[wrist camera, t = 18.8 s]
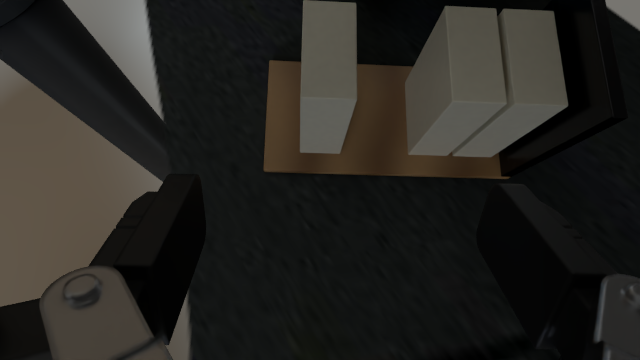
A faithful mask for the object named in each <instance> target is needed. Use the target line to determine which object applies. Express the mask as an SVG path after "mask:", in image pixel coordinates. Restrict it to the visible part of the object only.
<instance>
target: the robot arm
mask: <svg viewBox="0 0 640 360" xmlns="http://www.w3.org/2000/svg"><path fill="white" fill-rule="evenodd" d="M205 235H206V220H205V211H204V203H203V195H202V186H201V180H200V177H199V175H197V174H169V175H168V176H167V177H166V179H165V180H164V182H163V184H162V185H161V187H160V189H159V191H158V192H146V193H145V194H144V195H142V196H141V197H139V198H138V199H136V200H135V201H134V202H132V203H131V205H130V206H129V208H128V209H127V211H126V212H125V214H124V216H123V218H121V220H120V221H119V222H118V224H117V225H116V229H114V230H113V231H112V233H111V234H110V236H109V237H108V238H107V240H106V241H105V243H104V244H103V246H102V247H101V249H100V250H99V252H98V253H97V254H96V256H95V257H94V259H93V260H92V262H91V263H90V265H89V266H88V267H84V268H80V269H77V270H74V271H72V272H69V273H67V274H65V275H63V276H62V277H60V278H59V279H57V280H56V281H55V282H53V283H52V284H51V285H50V286H49V287H48V288H47V289H46V290H45V292H44V293H43V294H42V296H41V298H39V299H35V300H30V301H25V302H21V303H16V304H12V305H7V306H2V307H0V360H173V359H172V357H171V355H170V353H169V351H168V350H167V348H166V346H165V345H169V343H170V340H171V337H172V334H173V331H174V328H175V326H176V323H177V320H178V317H179V314H180V311H181V308H182V306H183V303H184V300H185V297H186V294H187V291H188V288H189V285H190V283H191V280H192V277H193V274H194V271H195V268H196V265H197V262H198V260H199V257H200V254H201V251H202V248H203V245H204V241H205ZM477 245H478V248H479V251H480V253H481V254H482V256H483V258H484V260H485V261H486V263H487V265H488V267H489V268H490V270H491V272H492V274H493V275H494V277H495V279H496V281H497V282H498V284H499V286H500V288H501V290H502V291H503V293H504V295H505V297H506V298H507V300H508V302H509V304H510V305H511V307H512V309H513V311H514V312H515V314H516V316H517V318H518V319H519V321H520V323H521V325H522V326H523V328H524V330H525V332H526V333H527V335H528V337H529V339H530V340H531V342H532V344H533V346H534V348H535V349H558V351H559V353H560V354H561V356H560V358H559V360H640V279H639V278H636V277H633V276H629V275H622V274H617V273H616V272H615V270H614V269H613V268H612V267H611V266H610V265H609V264H608V263H607V262H606V261H605V260H604V259H603V258H602V257H601V256H600V255H599V254H598V253H597V252H596V251H595V249H594V248H593V247H592V246H591V245H590V244H589V243H588V242H587V241H586V240H583V239H582V236H581V235H580V234H579V233H578V232H577V231H576V230H575V229H572V225H571V224H570V223H569V222H568V221H567V220H566V219H565V218H564V217H563V216H562V215H561V214H560V213H559V212H557V211H555V210H554V209H552V208H551V207H549V206H547V205H546V204H544V203H543V202H540V201H539V200H538V198H537V197H536V196H535V195H534V194H533V193H532V192H531V191H530V190H529V189H528V188H527V187H526V186H525V185H523V184H494V185H492V187H491V188H490V190H489V193H488V196H487V199H486V203H485V206H484V209H483V212H482V216H481V219H480V222H479V225H478V229H477Z"/></svg>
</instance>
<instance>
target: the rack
mask: <svg viewBox="0 0 640 360" xmlns="http://www.w3.org/2000/svg"><path fill="white" fill-rule="evenodd" d="M300 93H301V62H293V61H269V78H268V96H267V115H266V134H265V152H264V172H283V173H318V174H352V175H387V176H421V177H456V178H490V179H508V178H510V177H512V176H514V175H516V174H518V173H520V172H522V171H524V170H526V169H528V168H530V167H532V166H534V165H536V164H537V163H539V162H541V161H543V160H545V159H547V158H549V157H551V156H553V155H555V154H557V153H559V152H561V151H563V150H565V149H567V148H569V147H571V146H573V145H575V144H577V143H579V142H581V141H583V140H585V139H587V138H589V137H591V136H593V135H595V134H597V133H599V132H601V131H603V130H605V129H607V128H609V127H611V126H613V125H615V124H617V123H618V122H620V121H622V120H624V119H626V118H628V114H627V109H626V104H625V99H624V94H623V89H622V84H621V78H620V73H619V68H618V63H617V58H616V53H615V48H614V43H613V38H612V33H611V28H610V23H609V18H608V12H607V7H606V2H605V0H551V1H550V3H549V4H548V5H547V6H546V7H545V8H544V9H543V10H542V11H539V10H519V9H503V10H502V12H501V13H500V14H499V16H498V17H497V12H496V9H495V8H476V7H456V6H445V8H444V10H443V12H442V14H441V15H440V17H439V19H438V21H437V23H436V25H435V27H434V29H433V31H432V33H431V34H430V36H429V38H428V40H427V42H426V44H425V46H424V48H423V50H422V51H421V53H420V55H419V57H418V59H417V61H416V63H415V65H414V67H412V66H388V65H365V64H357V102H356V105H355V108H354V111H353V114H352V117H351V121H350V124H349V127H348V130H347V133H346V136H345V140H344V143H343V146H342V149H341V152H340V154H332V153H301V152H300Z"/></svg>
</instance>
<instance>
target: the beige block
mask: <svg viewBox="0 0 640 360" xmlns="http://www.w3.org/2000/svg"><path fill="white" fill-rule="evenodd" d="M356 102H357V17H356V3H348V2H328V1H308V0H304V1H303V27H302V60H301V93H300V152H301V153H332V154H340V152H341V149H342V146H343V143H344V140H345V136H346V133H347V130H348V127H349V124H350V121H351V117H352V114H353V111H354V108H355V105H356Z"/></svg>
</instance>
